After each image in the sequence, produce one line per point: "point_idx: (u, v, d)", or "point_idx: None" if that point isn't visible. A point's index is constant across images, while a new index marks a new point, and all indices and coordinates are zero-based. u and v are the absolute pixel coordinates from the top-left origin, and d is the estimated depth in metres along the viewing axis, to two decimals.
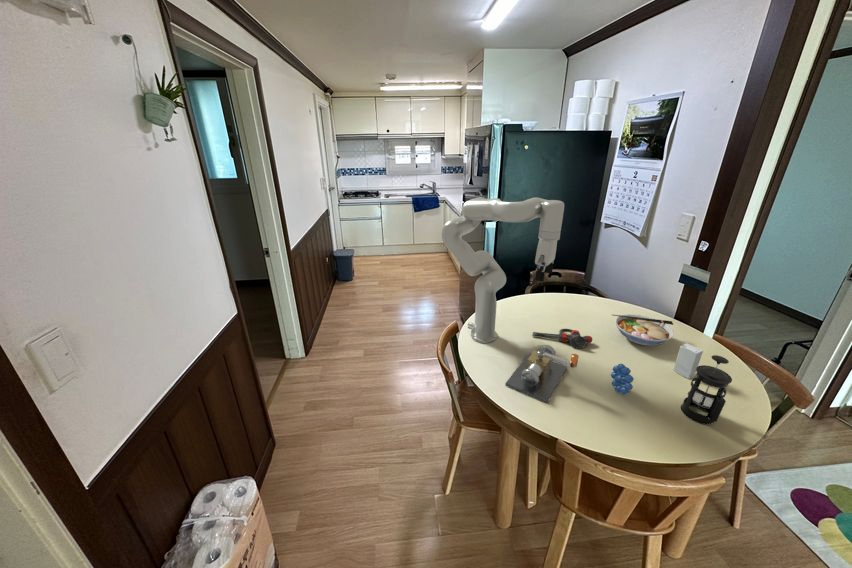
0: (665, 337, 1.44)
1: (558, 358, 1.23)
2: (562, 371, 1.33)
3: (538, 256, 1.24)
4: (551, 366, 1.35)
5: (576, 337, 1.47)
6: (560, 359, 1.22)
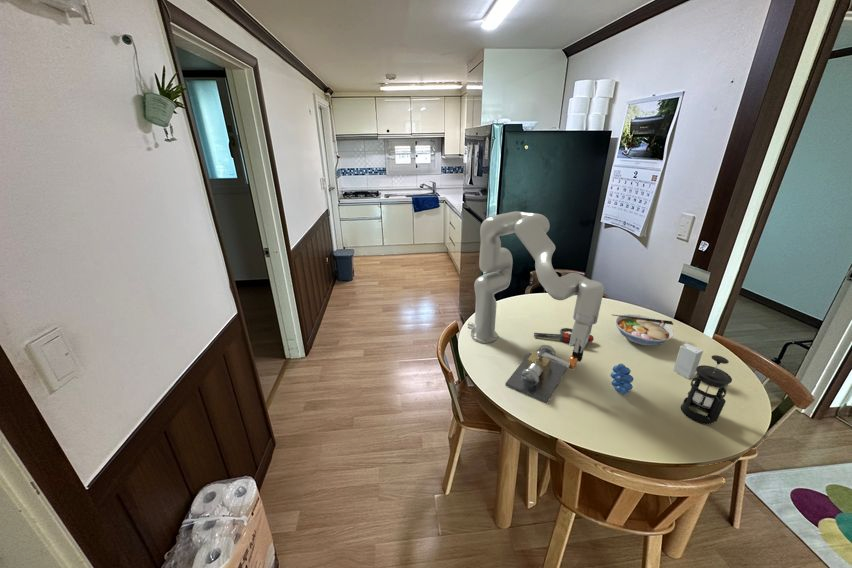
0: (665, 337, 1.44)
1: (557, 359, 1.23)
2: (562, 371, 1.33)
3: (573, 339, 1.14)
4: (551, 366, 1.35)
5: None
6: (559, 360, 1.22)
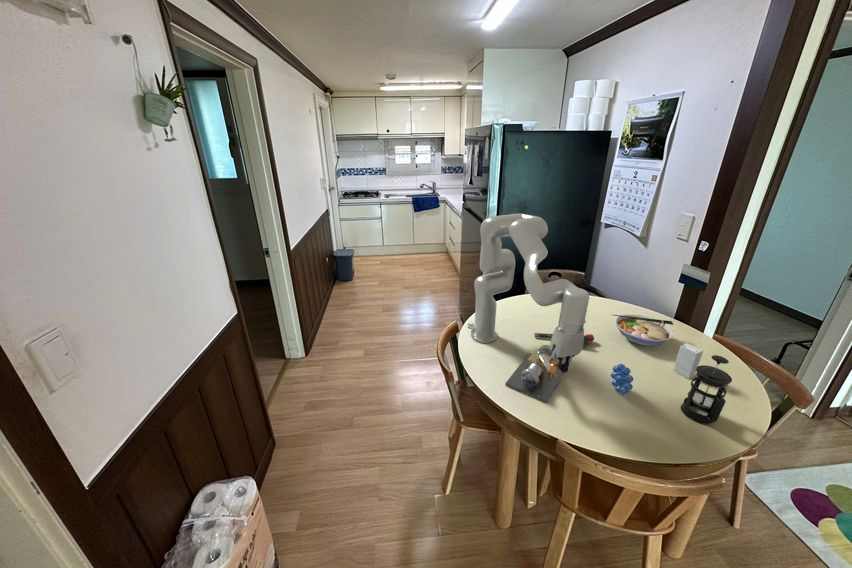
0: (665, 337, 1.44)
1: (546, 363, 1.21)
2: None
3: (551, 344, 1.11)
4: None
5: None
6: (547, 364, 1.20)
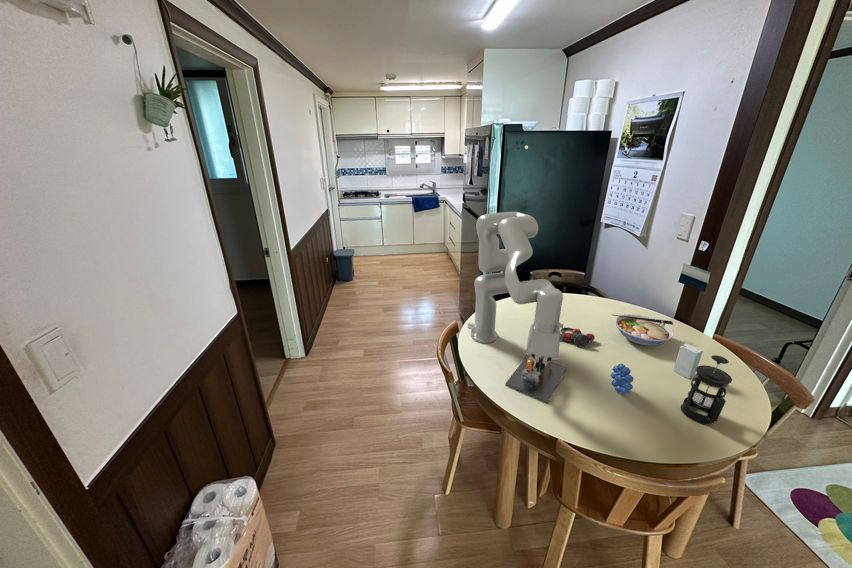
0: (665, 337, 1.44)
1: (534, 360, 1.22)
2: (562, 371, 1.33)
3: None
4: (551, 366, 1.35)
5: (580, 336, 1.48)
6: None
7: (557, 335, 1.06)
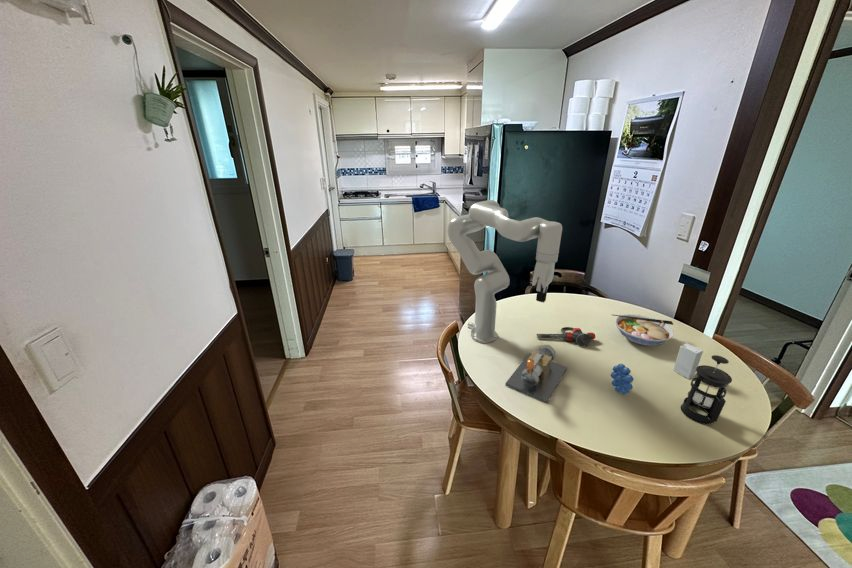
0: (665, 337, 1.44)
1: (534, 360, 1.22)
2: (562, 371, 1.33)
3: (535, 278, 1.21)
4: (551, 366, 1.35)
5: (582, 335, 1.49)
6: None
7: None
